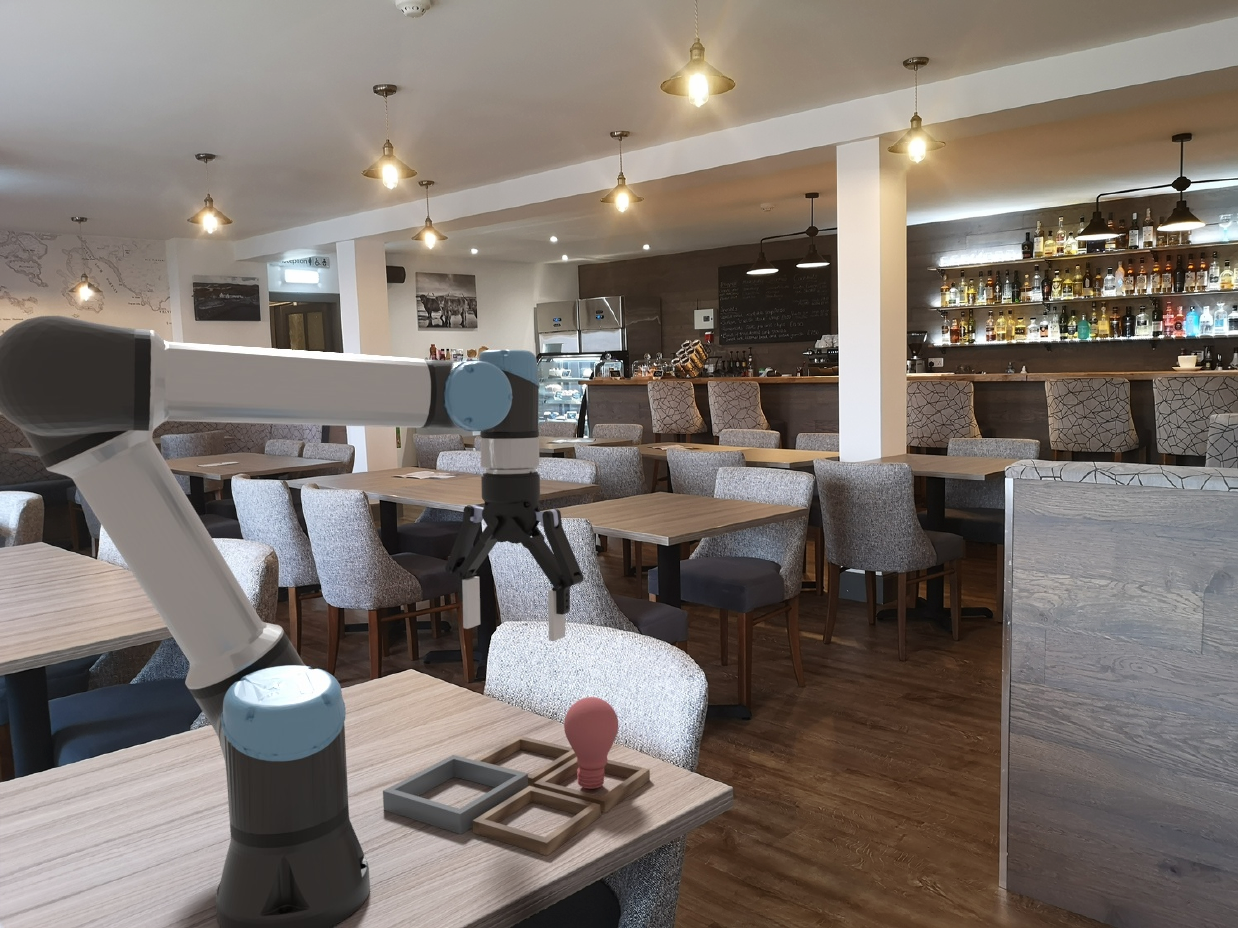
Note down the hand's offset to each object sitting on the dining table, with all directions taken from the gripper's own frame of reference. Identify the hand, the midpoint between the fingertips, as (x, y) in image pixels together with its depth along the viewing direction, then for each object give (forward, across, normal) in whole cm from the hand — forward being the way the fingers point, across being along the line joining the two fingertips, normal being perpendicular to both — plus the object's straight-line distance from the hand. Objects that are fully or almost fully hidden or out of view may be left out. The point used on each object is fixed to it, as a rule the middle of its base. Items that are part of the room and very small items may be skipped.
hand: (513, 632), depth 121 cm
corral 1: (+21, +5, +7) cm, 23 cm away
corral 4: (+21, -9, -5) cm, 23 cm away
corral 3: (+21, -8, +7) cm, 24 cm away
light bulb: (+21, -9, -5) cm, 23 cm away
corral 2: (+21, +3, -6) cm, 22 cm away
